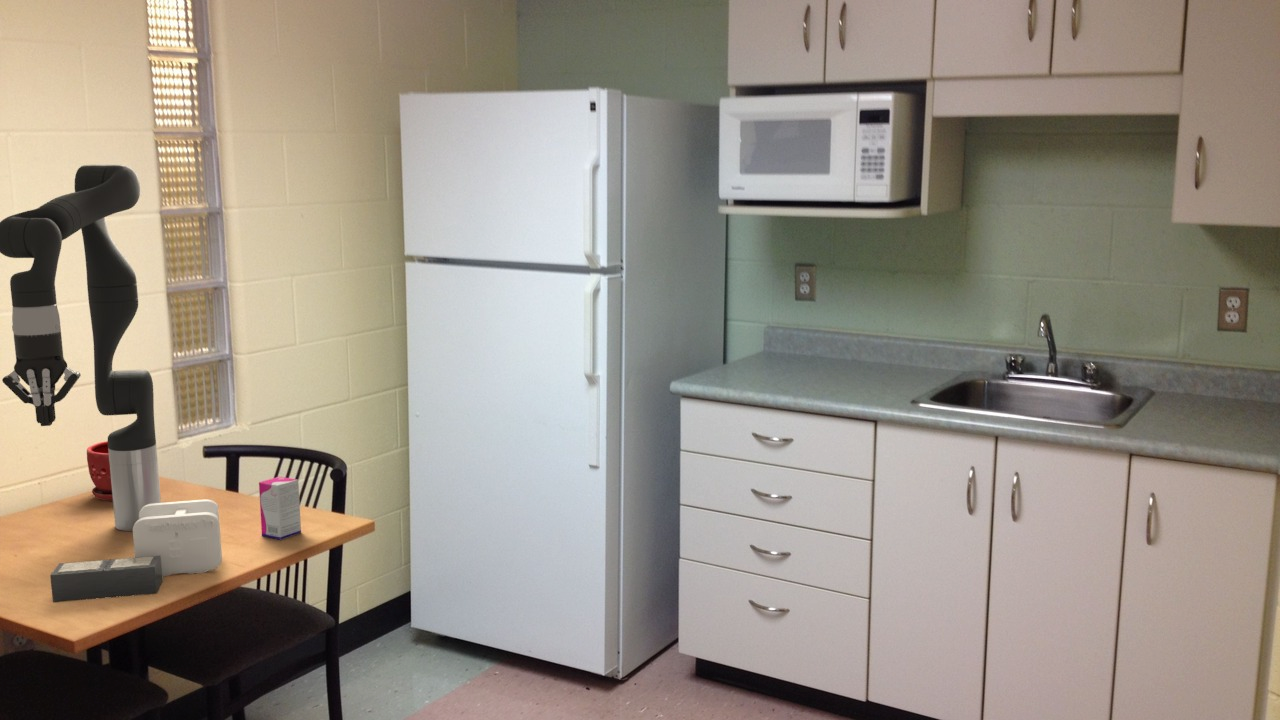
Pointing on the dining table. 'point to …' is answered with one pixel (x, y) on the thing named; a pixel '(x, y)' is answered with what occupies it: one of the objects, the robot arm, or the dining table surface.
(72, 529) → the dining table surface
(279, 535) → the supplement box
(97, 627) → the dining table surface
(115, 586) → the block
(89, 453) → the plant pot
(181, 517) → the cable organizer
